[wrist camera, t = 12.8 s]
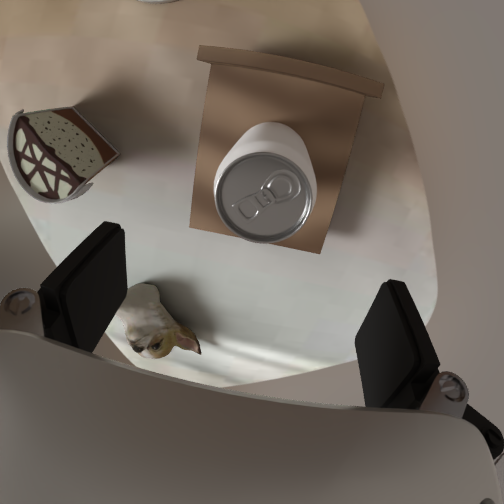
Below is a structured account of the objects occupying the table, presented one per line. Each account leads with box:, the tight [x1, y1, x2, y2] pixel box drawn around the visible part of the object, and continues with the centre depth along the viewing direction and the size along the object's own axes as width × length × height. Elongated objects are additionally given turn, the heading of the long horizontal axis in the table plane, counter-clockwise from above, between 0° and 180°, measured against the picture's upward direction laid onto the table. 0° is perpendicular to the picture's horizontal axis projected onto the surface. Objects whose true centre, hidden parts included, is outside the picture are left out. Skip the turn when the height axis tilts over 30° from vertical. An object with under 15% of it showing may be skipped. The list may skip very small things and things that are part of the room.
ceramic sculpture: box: [115, 283, 201, 359], centre depth 42 cm, size 11×9×15 cm
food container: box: [7, 106, 120, 203], centre depth 29 cm, size 12×6×10 cm, turn 43°
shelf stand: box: [189, 45, 384, 254], centre depth 28 cm, size 18×14×9 cm
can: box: [214, 122, 317, 244], centre depth 23 cm, size 6×6×12 cm
